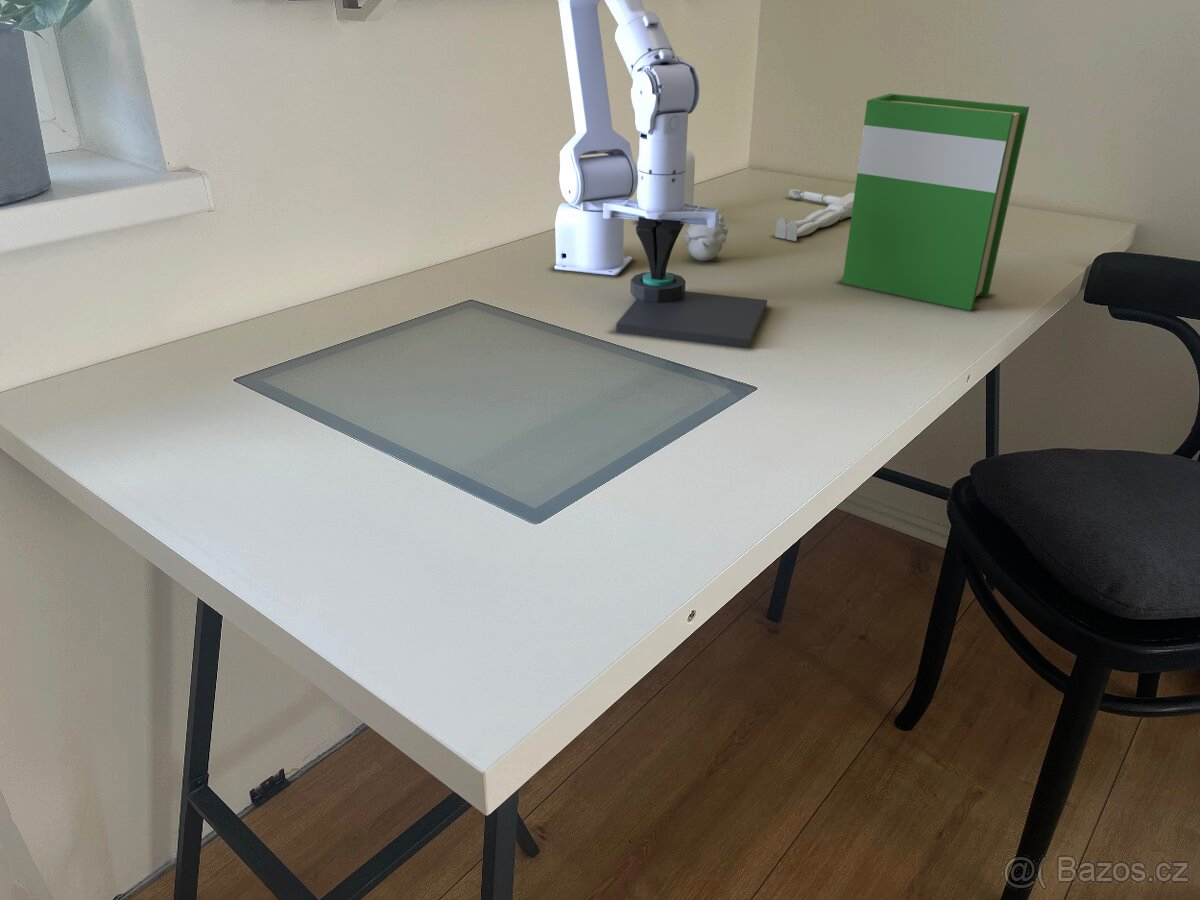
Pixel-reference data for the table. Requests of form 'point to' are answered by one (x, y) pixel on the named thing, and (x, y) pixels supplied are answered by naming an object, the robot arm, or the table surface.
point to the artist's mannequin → (816, 215)
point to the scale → (690, 314)
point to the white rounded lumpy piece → (706, 239)
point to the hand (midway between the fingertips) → (658, 277)
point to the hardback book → (932, 196)
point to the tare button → (654, 282)
